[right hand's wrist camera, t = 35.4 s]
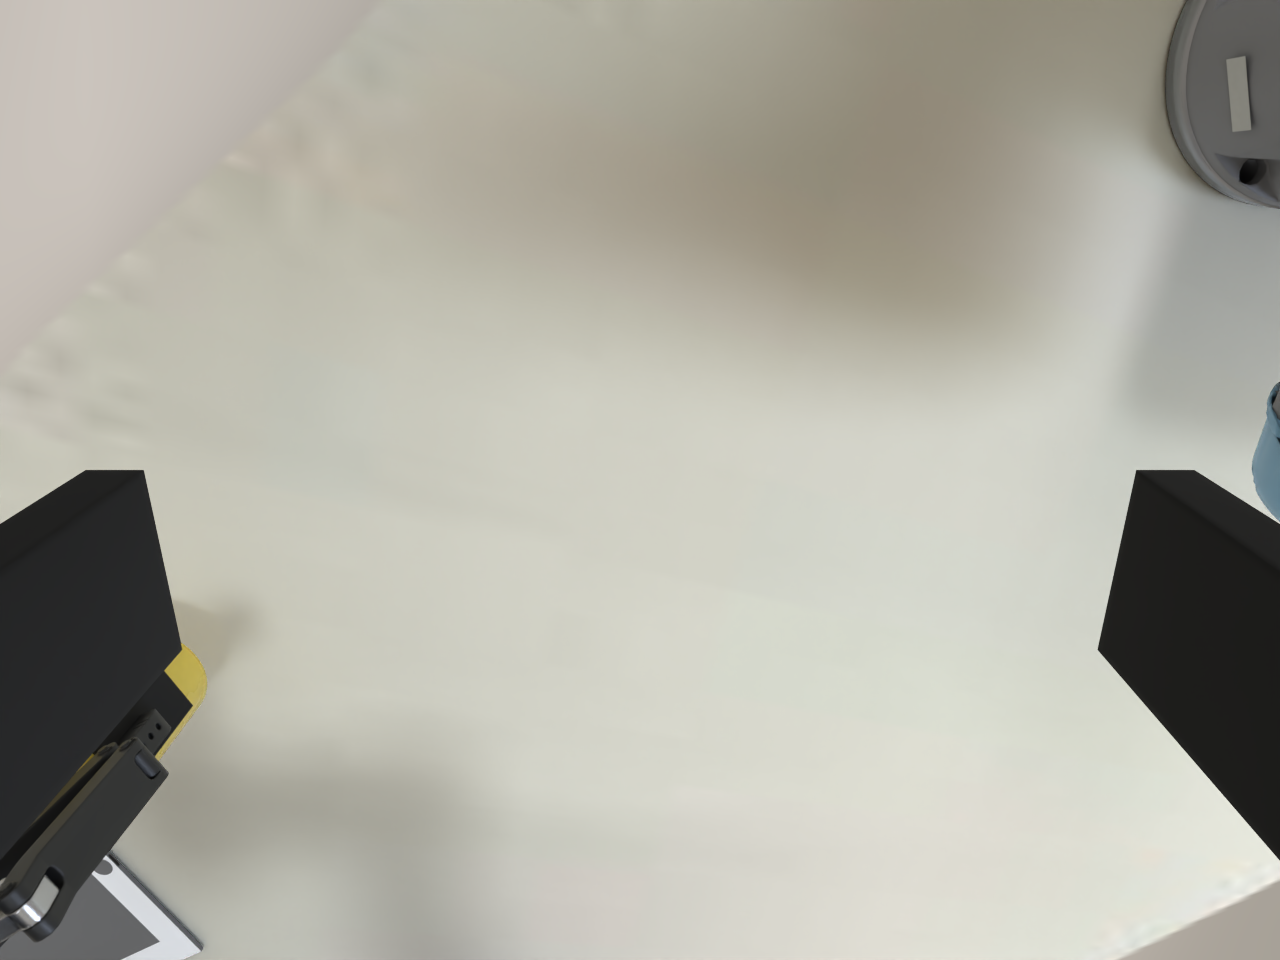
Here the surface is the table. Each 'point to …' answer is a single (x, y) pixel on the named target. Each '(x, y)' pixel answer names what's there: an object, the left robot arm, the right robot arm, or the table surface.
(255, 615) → the table surface
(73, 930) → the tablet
